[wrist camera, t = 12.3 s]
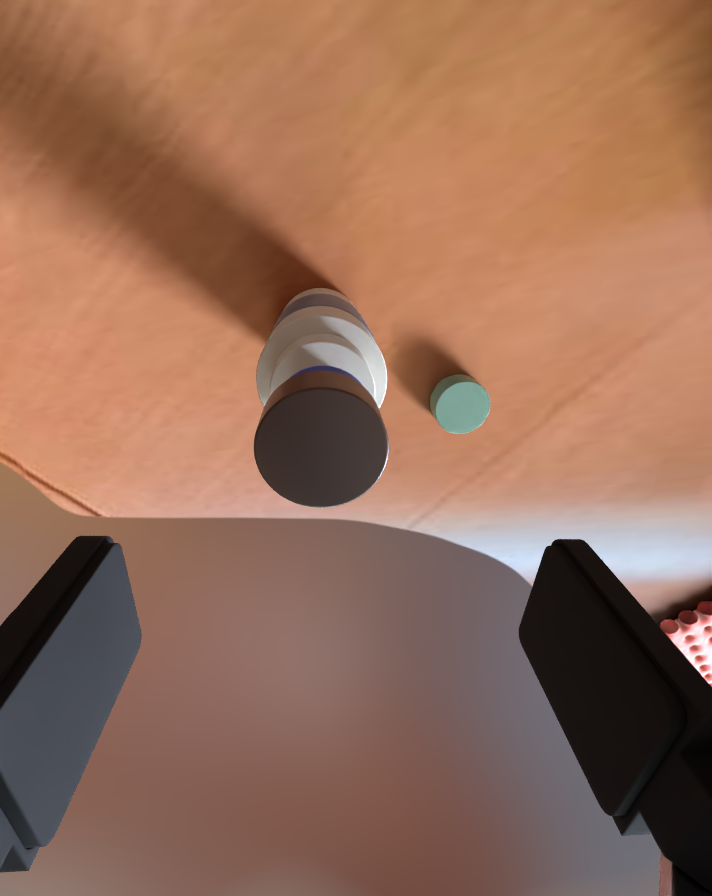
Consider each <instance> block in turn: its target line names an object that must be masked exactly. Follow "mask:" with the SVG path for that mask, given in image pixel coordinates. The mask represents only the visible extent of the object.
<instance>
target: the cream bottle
mask: <svg viewBox="0 0 712 896" xmlns="http://www.w3.org/2000/svg"><path fill="white" fill-rule="evenodd" d="M317 370H325V371H333V372H337V373H341V374H344V375H346V376H349V377H351V378H352V379H354V380H356V381H357V382H359V383H360V384H361V385H363V386H364V387H365V388H366V389H367V390H368V391H369V393H370V394H371V395H372V397H373V398H374V400H375V402H376V403H377V406H378V408H380V406H381V404H382V402H383V399H384V396H385V392H386V387H387V370H386V365H385V361H384V358H383V356H382V353H381V351H380V349H379V347H378V346H377V344H376V341H375V339H374V337H373V335H372V333H371V331H370V330H369V328H368V326H367V324H366V323H365V321H364V319H363V317H362V316H361V314H360V313H359V312H358V310H357V308H356V307H355V305H354V304H353V303H352V302H351V301H350V300H349V299H348V298H347V297H346V296H344V295H343V294H341V293H339V292H337V291H334V290H331V289H326V288H314V289H309V290H306V291H303V292H301V293H299V294H298V295H296V296H295V297H294V298H293V299H291V300H290V302H289V303H288V304H287V305H286V307H285V308H284V310H283V312H282V313H281V315H280V316H279V318H278V320H277V322H276V324H275V326H274V328H273V330H272V331H271V333H270V335H269V337H268V339H267V342H266V345H265V347H264V349H263V351H262V353H261V355H260V358H259V361H258V366H257V374H256V381H257V389H258V394H259V397H260V399H261V402H262V404H263V406H264V407H265V404H266V402H267V400H268V399H269V397H270V396H271V394H272V393H273V392H274V391H275V390H276V389H277V387H278V386H280V385H281V384H282V383H283V382H285V381H286V380H288V379H290V378H292V377H293V376H296V375H298V374H301V373H305V372H309V371H317Z"/></svg>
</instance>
